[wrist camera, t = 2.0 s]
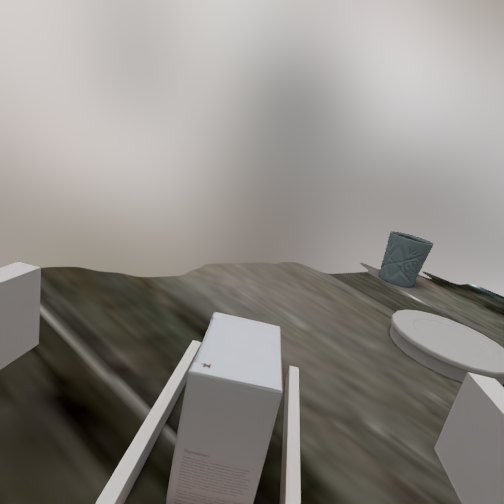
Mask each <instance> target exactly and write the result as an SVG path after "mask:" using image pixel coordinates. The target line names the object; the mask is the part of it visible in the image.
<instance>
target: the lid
mask: <svg viewBox="0 0 504 504" xmlns="http://www.w3.org/2000/svg"><path fill="white" fill-rule="evenodd" d="M391 321H392V325H391V328H390V337H391V338H392V340H393V341H394V342H395V344H396V345H397V346H398V347H399V348H400V349H401V350H402V351H404V352H405V353H406V354H407V355H408V356H410V357H411V358H413V359H414V360H416V361H417V362H419V363H421V364H422V365H424V366H425V367H427V368H429V369H431V370H433V371H436V372H438V373H440V374H442V375H444V376H446V377H449V378H452V379H454V380H457V381H460V382H463V381H464V379H465V376H466V374H467V372H470V373H474V374H478V375H482V376H486V377H490V378H494V379H496V380H497V381H498V382H499V383H500V384H501V385H503V384H504V348H502V347H501V346H500V345H499V344H497V343H496V342H494V341H492V340H491V339H489V338H488V337H486V336H484V335H483V334H481V333H479V332H477V331H475V330H473V329H471V328H469V327H467V326H464V325H462V324H459V323H457V322H455V321H452V320H450V319H447V318H444V317H440V316H437V315H434V314H430V313H426V312H421V311H415V310H401V311H397V312H396V313H394V314H393V315H392V317H391Z"/></svg>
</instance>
